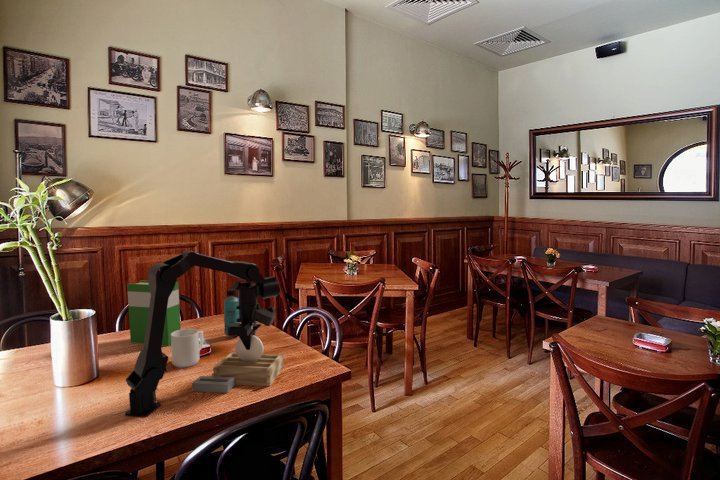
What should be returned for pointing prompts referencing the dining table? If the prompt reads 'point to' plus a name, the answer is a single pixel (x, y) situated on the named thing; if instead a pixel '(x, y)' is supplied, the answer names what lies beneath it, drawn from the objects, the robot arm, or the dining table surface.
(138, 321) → the green cereal box
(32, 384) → the dining table surface
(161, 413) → the dining table surface
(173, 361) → the mug
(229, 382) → the stand
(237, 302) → the beverage bottle
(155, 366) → the robot arm
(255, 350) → the plate
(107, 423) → the dining table surface
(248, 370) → the rack
